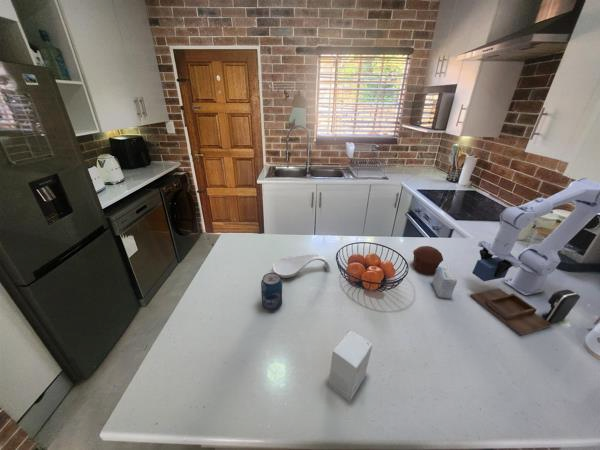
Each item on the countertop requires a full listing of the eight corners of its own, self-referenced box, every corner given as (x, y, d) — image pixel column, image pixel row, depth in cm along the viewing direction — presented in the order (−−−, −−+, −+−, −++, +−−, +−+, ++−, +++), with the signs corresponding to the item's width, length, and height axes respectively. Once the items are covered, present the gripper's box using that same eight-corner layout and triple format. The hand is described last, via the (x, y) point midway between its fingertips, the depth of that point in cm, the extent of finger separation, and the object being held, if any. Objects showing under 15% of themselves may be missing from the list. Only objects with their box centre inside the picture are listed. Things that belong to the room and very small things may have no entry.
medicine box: (450, 299, 91) (457, 280, 87) (437, 297, 92) (444, 278, 88) (443, 285, 98) (450, 267, 94) (431, 283, 99) (437, 265, 95)
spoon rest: (274, 284, 95) (274, 269, 92) (270, 266, 105) (270, 252, 102) (332, 276, 100) (334, 262, 97) (323, 260, 110) (324, 246, 107)
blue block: (492, 269, 97) (498, 256, 94) (504, 277, 92) (511, 264, 90) (472, 273, 94) (477, 260, 91) (483, 281, 90) (490, 268, 87)
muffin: (434, 262, 112) (440, 243, 107) (442, 277, 102) (449, 257, 97) (407, 259, 113) (412, 240, 109) (412, 274, 104) (418, 254, 99)
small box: (344, 361, 68) (350, 328, 62) (365, 377, 64) (373, 343, 58) (327, 384, 62) (332, 350, 56) (349, 402, 59) (357, 368, 53)
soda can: (262, 314, 82) (260, 286, 76) (261, 299, 88) (260, 272, 82) (283, 312, 83) (283, 284, 77) (281, 297, 89) (281, 270, 83)
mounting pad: (498, 290, 96) (501, 284, 95) (550, 326, 81) (555, 320, 80) (470, 296, 93) (473, 290, 91) (519, 335, 77) (523, 329, 76)
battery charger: (551, 311, 87) (569, 286, 82) (564, 320, 84) (583, 294, 79) (536, 314, 86) (553, 289, 80) (548, 323, 82) (566, 297, 77)
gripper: (477, 231, 92) (465, 262, 98) (517, 253, 79) (500, 286, 85) (492, 230, 93) (479, 259, 100) (533, 250, 81) (515, 283, 87)
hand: (489, 271), depth 93 cm, fingers closed on blue block, 5 cm apart
